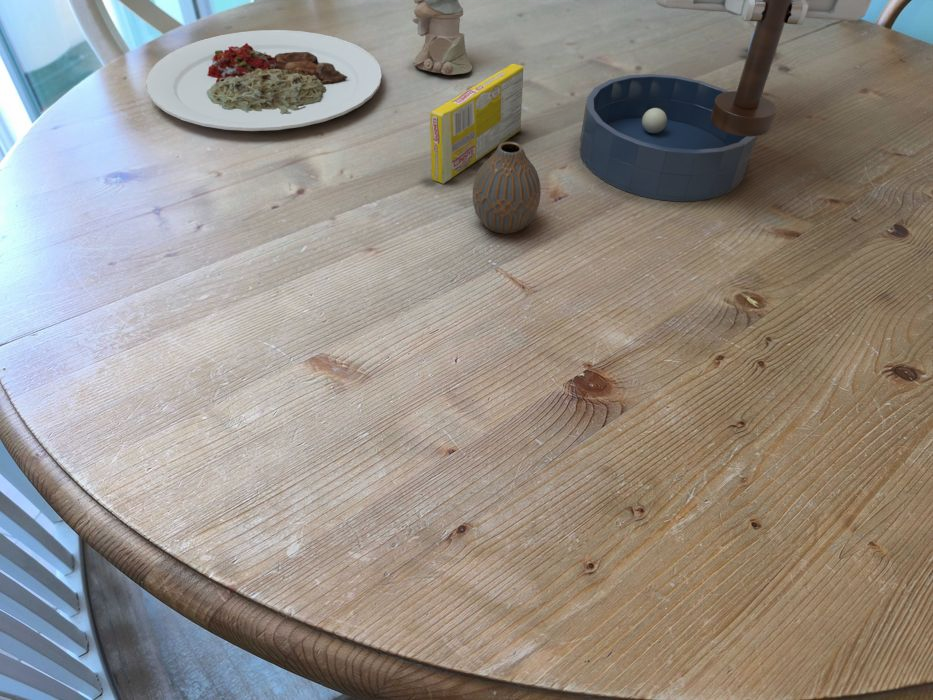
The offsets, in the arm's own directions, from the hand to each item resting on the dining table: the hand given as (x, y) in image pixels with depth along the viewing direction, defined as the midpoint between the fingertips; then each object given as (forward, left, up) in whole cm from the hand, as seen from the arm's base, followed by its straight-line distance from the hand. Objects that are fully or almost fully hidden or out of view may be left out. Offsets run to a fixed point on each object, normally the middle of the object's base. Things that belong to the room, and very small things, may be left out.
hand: (776, 14), depth 68 cm
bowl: (+5, -11, -21) cm, 24 cm away
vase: (+23, +6, -21) cm, 32 cm away
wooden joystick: (0, -1, -11) cm, 11 cm away
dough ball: (+6, -16, -19) cm, 25 cm away
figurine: (+34, -32, -21) cm, 51 cm away
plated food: (+56, -21, -21) cm, 63 cm away
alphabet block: (-13, -46, -21) cm, 52 cm away
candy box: (+27, -8, -21) cm, 35 cm away
